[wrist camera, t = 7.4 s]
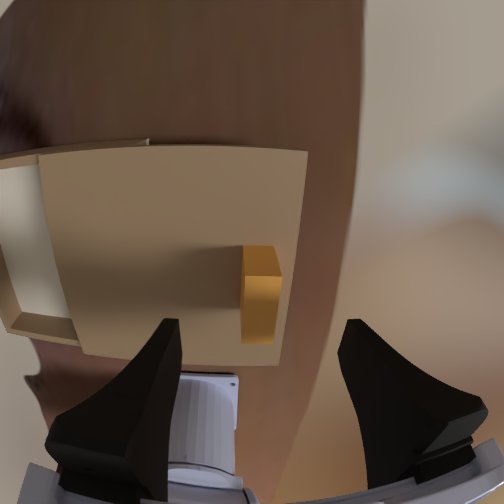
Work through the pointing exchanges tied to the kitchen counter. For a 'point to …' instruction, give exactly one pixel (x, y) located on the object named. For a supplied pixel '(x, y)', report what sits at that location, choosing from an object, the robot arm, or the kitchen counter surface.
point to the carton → (33, 249)
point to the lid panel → (177, 245)
